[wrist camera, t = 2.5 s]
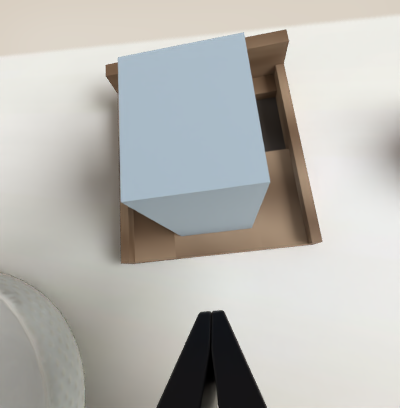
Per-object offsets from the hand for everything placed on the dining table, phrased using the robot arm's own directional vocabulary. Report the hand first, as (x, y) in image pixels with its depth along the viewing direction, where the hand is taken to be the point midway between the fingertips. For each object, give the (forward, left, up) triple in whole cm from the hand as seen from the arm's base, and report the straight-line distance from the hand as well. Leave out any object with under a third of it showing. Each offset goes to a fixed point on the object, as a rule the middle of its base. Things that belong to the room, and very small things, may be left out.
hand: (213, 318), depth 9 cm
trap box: (+5, +8, -10) cm, 14 cm away
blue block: (+4, +6, -9) cm, 11 cm away
